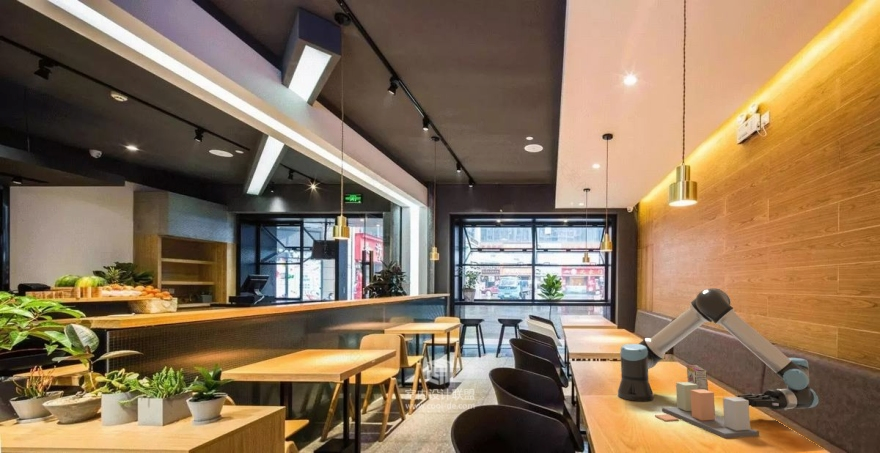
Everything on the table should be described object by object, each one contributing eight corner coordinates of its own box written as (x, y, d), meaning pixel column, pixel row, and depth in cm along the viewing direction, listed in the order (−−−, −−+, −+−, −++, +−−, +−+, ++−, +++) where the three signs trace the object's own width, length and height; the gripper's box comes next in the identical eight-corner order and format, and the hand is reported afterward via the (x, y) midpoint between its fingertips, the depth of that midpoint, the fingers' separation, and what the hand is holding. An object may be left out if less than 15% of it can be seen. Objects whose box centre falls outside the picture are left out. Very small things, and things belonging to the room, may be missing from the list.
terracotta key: (691, 416, 176) (690, 389, 177) (705, 415, 177) (703, 389, 178) (701, 420, 171) (700, 393, 172) (715, 419, 172) (713, 392, 173)
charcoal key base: (662, 411, 188) (662, 407, 188) (691, 409, 191) (691, 406, 191) (725, 438, 157) (725, 433, 157) (759, 435, 160) (758, 431, 160)
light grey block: (724, 426, 165) (722, 397, 166) (738, 425, 166) (736, 396, 167) (736, 430, 160) (734, 401, 161) (750, 429, 161) (748, 400, 162)
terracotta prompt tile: (654, 416, 181) (654, 415, 181) (668, 415, 182) (668, 414, 182) (665, 421, 175) (665, 419, 175) (678, 420, 176) (678, 418, 176)
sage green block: (677, 407, 188) (676, 382, 189) (689, 406, 189) (688, 382, 190) (686, 410, 183) (684, 385, 184) (698, 410, 184) (697, 384, 186)
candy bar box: (687, 402, 202) (686, 364, 204) (700, 403, 201) (698, 365, 203) (696, 409, 191) (694, 369, 193) (709, 410, 190) (707, 370, 192)
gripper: (795, 413, 175) (743, 416, 170) (765, 404, 187) (716, 407, 183) (794, 393, 176) (742, 396, 171) (764, 385, 188) (715, 387, 184)
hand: (728, 401), depth 177 cm, fingers closed
